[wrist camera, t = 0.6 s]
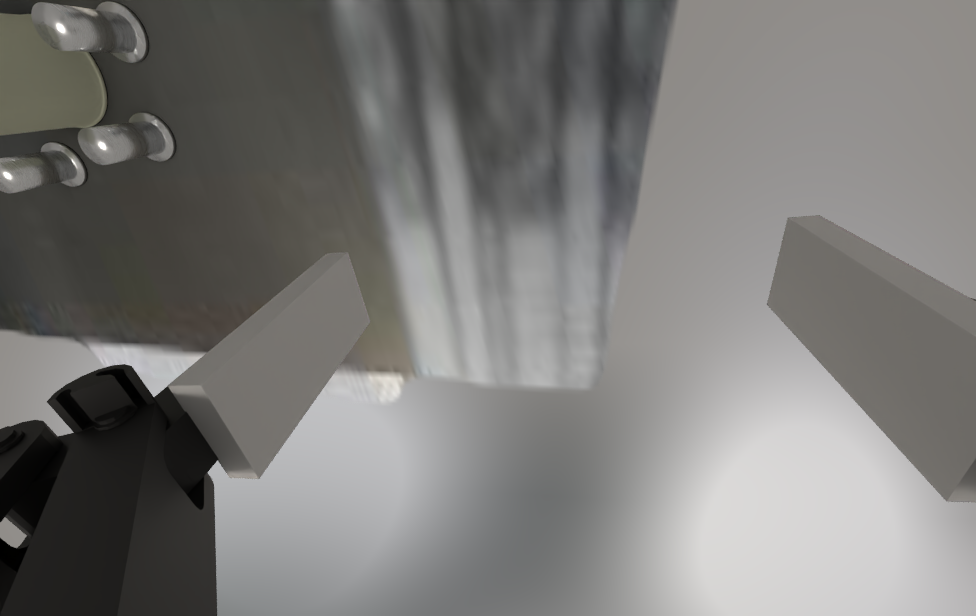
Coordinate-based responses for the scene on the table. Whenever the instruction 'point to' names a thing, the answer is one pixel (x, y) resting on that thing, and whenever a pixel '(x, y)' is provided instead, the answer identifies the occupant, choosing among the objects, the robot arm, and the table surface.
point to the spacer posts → (102, 144)
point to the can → (45, 82)
